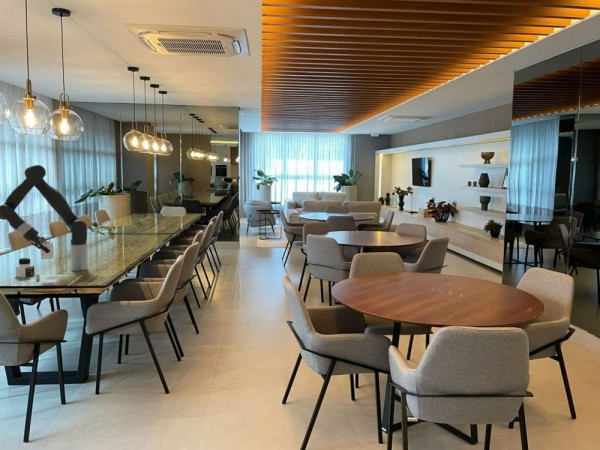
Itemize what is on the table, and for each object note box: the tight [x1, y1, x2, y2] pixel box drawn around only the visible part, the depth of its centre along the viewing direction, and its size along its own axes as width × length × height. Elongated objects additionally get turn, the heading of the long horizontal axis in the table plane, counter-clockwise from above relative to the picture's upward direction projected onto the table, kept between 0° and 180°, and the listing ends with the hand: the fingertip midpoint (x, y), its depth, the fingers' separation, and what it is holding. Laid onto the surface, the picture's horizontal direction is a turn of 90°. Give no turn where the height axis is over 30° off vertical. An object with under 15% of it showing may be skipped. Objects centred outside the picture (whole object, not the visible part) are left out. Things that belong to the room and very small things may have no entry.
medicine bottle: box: [15, 257, 36, 278], centre depth 283 cm, size 7×7×12 cm
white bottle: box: [40, 240, 55, 260], centre depth 275 cm, size 5×5×10 cm
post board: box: [26, 273, 69, 283], centre depth 278 cm, size 19×15×5 cm
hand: (50, 251), depth 275 cm, fingers closed on white bottle, 5 cm apart
